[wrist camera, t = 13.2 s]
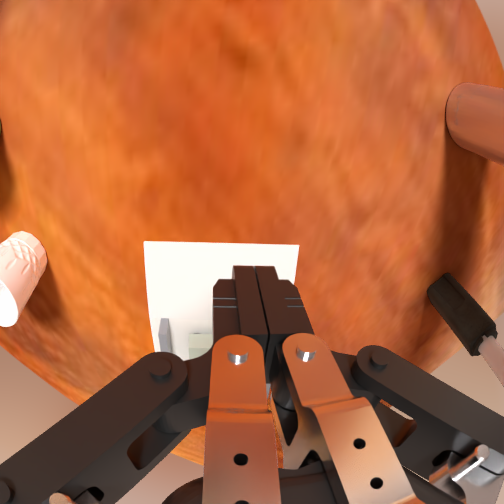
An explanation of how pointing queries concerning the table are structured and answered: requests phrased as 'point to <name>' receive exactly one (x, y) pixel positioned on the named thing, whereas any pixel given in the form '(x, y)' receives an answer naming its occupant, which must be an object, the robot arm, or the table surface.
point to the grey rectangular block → (199, 344)
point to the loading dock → (199, 284)
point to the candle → (468, 322)
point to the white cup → (19, 274)
